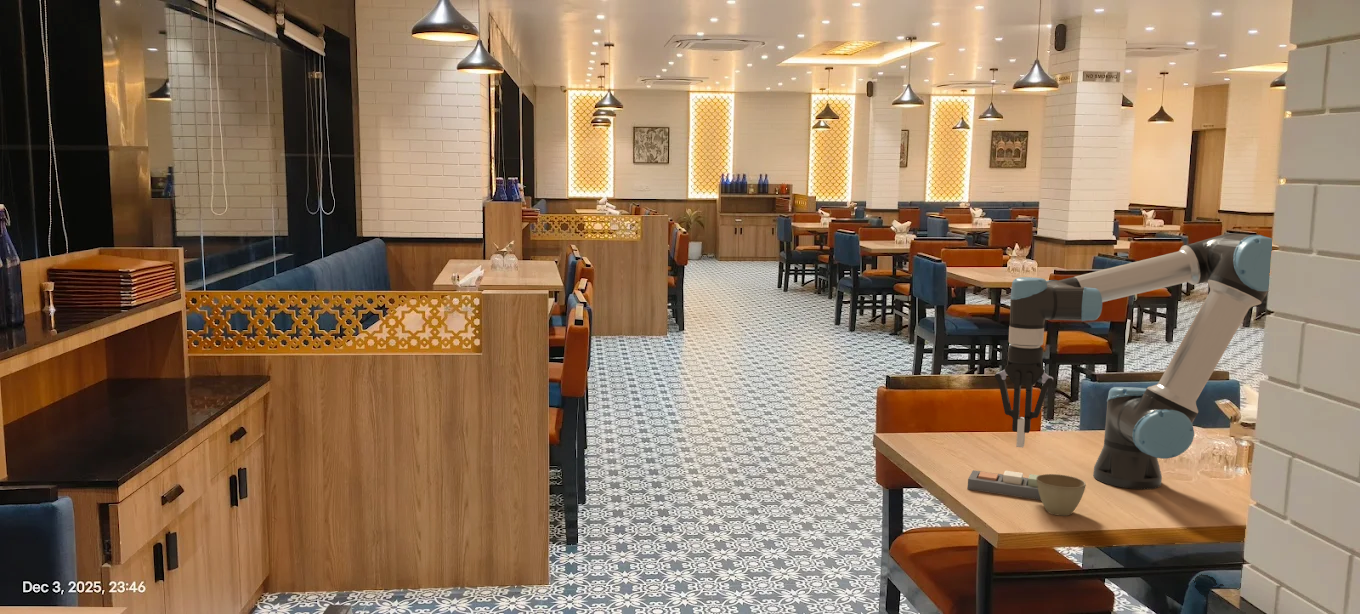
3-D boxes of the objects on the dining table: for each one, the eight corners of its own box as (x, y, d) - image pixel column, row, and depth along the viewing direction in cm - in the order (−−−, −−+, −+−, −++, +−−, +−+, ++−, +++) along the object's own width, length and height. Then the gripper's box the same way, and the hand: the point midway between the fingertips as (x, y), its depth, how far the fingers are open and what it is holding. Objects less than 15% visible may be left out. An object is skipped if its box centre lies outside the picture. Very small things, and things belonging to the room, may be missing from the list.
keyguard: (1056, 492, 227) (1057, 482, 226) (1054, 502, 219) (1055, 491, 219) (972, 479, 234) (972, 470, 234) (967, 488, 227) (968, 478, 227)
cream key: (1022, 483, 228) (1023, 473, 227) (1020, 488, 224) (1021, 477, 224) (1004, 480, 229) (1005, 470, 229) (1002, 485, 226) (1003, 474, 225)
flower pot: (1071, 504, 218) (1073, 473, 217) (1091, 520, 208) (1094, 487, 207) (1027, 504, 218) (1029, 473, 217) (1045, 519, 208) (1047, 487, 207)
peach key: (997, 484, 230) (998, 474, 230) (995, 488, 226) (996, 478, 226) (979, 481, 232) (980, 471, 231) (977, 486, 228) (978, 475, 228)
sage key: (1047, 487, 225) (1048, 476, 225) (1045, 491, 222) (1046, 481, 222) (1028, 484, 227) (1029, 473, 227) (1027, 489, 223) (1028, 478, 223)
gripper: (1057, 345, 223) (1051, 445, 226) (998, 340, 228) (993, 438, 231) (1054, 349, 216) (1048, 453, 219) (993, 345, 222) (988, 446, 225)
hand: (1020, 445), depth 225 cm, fingers closed
